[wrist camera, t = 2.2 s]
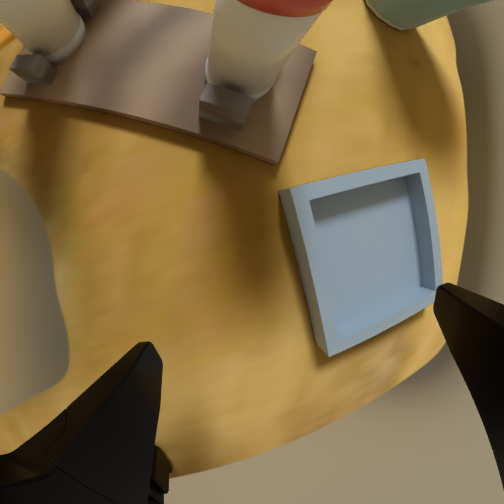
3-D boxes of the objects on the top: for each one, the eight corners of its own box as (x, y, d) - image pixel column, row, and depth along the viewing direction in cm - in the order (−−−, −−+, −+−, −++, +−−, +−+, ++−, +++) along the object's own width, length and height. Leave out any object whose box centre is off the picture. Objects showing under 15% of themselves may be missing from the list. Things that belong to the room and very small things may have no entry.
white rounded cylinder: (214, 111, 17) (252, -39, 4) (197, 56, 16) (214, -96, 3) (280, 99, 17) (391, -20, 5) (261, 46, 16) (333, -85, 4)
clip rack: (311, 57, 18) (333, 33, 14) (274, 165, 19) (293, 153, 15) (60, 6, 13) (46, -17, 9) (5, 96, 13) (-20, 82, 10)
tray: (315, 343, 21) (328, 357, 19) (278, 191, 19) (289, 188, 17) (425, 290, 23) (443, 296, 21) (405, 161, 21) (424, 158, 18)
